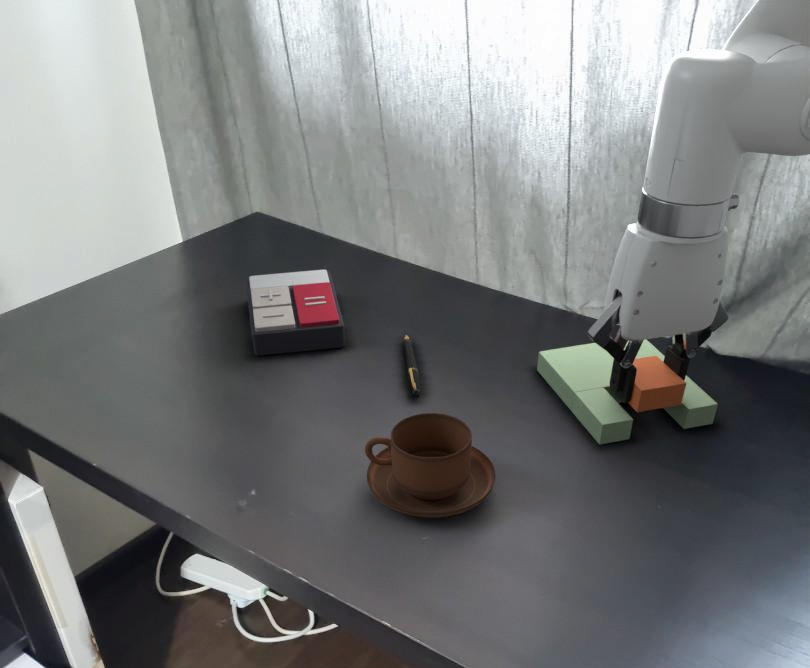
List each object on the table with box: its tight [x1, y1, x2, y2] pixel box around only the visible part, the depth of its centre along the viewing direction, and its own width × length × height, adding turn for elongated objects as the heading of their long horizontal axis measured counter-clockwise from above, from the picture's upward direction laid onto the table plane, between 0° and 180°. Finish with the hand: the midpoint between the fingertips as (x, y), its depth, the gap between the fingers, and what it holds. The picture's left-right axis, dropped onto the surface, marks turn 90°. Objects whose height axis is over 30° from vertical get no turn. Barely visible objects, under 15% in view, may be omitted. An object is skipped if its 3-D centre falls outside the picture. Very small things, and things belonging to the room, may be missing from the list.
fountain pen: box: [403, 334, 421, 396], centre depth 96 cm, size 14×1×2 cm, turn 5°
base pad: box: [536, 339, 719, 445], centre depth 90 cm, size 13×16×2 cm
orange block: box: [627, 356, 686, 413], centre depth 85 cm, size 5×6×2 cm
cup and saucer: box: [364, 412, 496, 519], centre depth 76 cm, size 12×12×6 cm
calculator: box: [245, 269, 346, 357], centre depth 104 cm, size 11×4×15 cm
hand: (645, 390), depth 85 cm, fingers closed on orange block, 5 cm apart
